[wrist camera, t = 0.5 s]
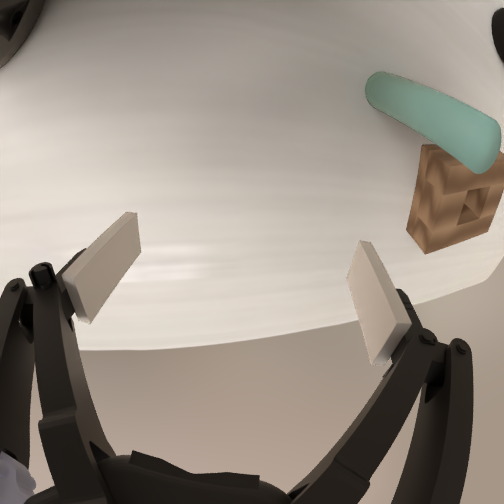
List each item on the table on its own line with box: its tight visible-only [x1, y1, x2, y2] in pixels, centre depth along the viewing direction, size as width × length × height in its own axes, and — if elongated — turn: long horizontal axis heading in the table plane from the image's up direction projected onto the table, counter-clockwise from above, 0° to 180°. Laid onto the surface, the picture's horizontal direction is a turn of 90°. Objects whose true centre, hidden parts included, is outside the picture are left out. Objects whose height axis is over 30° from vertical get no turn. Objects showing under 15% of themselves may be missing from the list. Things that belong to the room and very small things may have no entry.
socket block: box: [406, 144, 504, 254], centre depth 30 cm, size 14×16×6 cm
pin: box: [365, 72, 501, 174], centre depth 17 cm, size 4×4×14 cm
